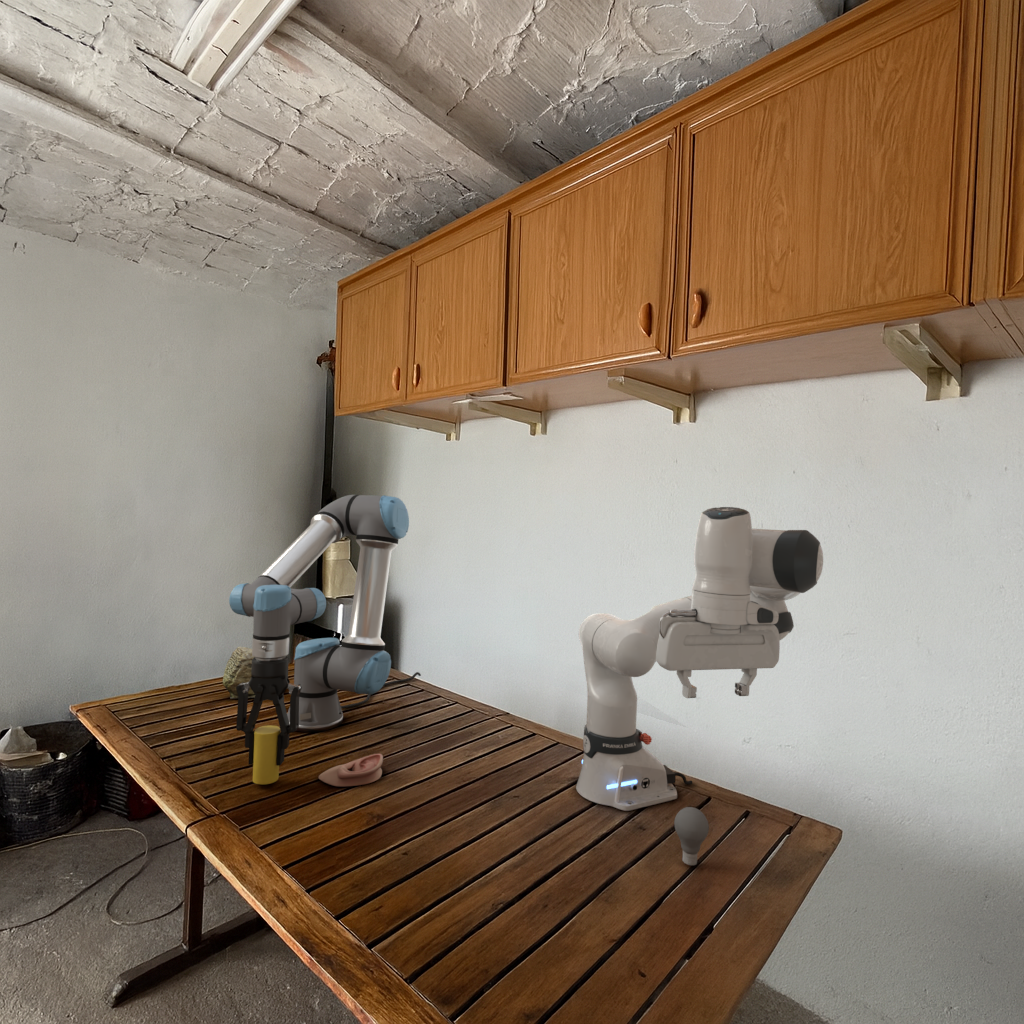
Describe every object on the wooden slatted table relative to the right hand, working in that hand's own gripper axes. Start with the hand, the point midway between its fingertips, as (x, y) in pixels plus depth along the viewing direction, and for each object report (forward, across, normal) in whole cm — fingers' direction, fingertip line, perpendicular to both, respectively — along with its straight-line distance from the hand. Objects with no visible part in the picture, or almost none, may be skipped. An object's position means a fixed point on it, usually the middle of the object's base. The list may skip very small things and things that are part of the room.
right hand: (715, 696), depth 101 cm
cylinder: (+34, -73, +57) cm, 98 cm away
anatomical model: (+35, -55, +58) cm, 87 cm away
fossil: (+35, -84, +122) cm, 152 cm away
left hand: (+30, -73, +57) cm, 97 cm away
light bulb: (+35, +4, +12) cm, 37 cm away
